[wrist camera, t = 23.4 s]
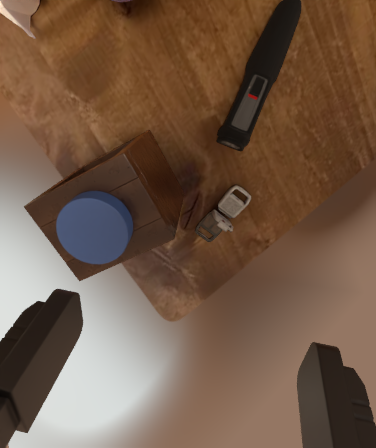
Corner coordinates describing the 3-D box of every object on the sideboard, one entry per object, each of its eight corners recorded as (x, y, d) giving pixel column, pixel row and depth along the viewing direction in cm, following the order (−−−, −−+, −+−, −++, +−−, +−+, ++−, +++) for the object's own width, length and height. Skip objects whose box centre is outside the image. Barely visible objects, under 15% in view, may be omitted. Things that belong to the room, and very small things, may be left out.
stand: (184, 193, 43) (174, 239, 31) (113, 227, 45) (79, 281, 34) (149, 129, 40) (123, 152, 28) (75, 170, 42) (23, 206, 31)
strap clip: (235, 181, 42) (237, 192, 38) (253, 196, 42) (257, 208, 38) (193, 229, 45) (191, 243, 41) (210, 242, 45) (210, 257, 41)
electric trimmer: (307, 12, 34) (316, 5, 31) (242, 152, 40) (244, 157, 37) (274, -4, 34) (280, -12, 31) (213, 140, 40) (214, 144, 37)
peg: (159, 193, 38) (143, 230, 29) (126, 231, 40) (101, 277, 31) (114, 155, 36) (81, 182, 27) (82, 197, 38) (42, 234, 29)
